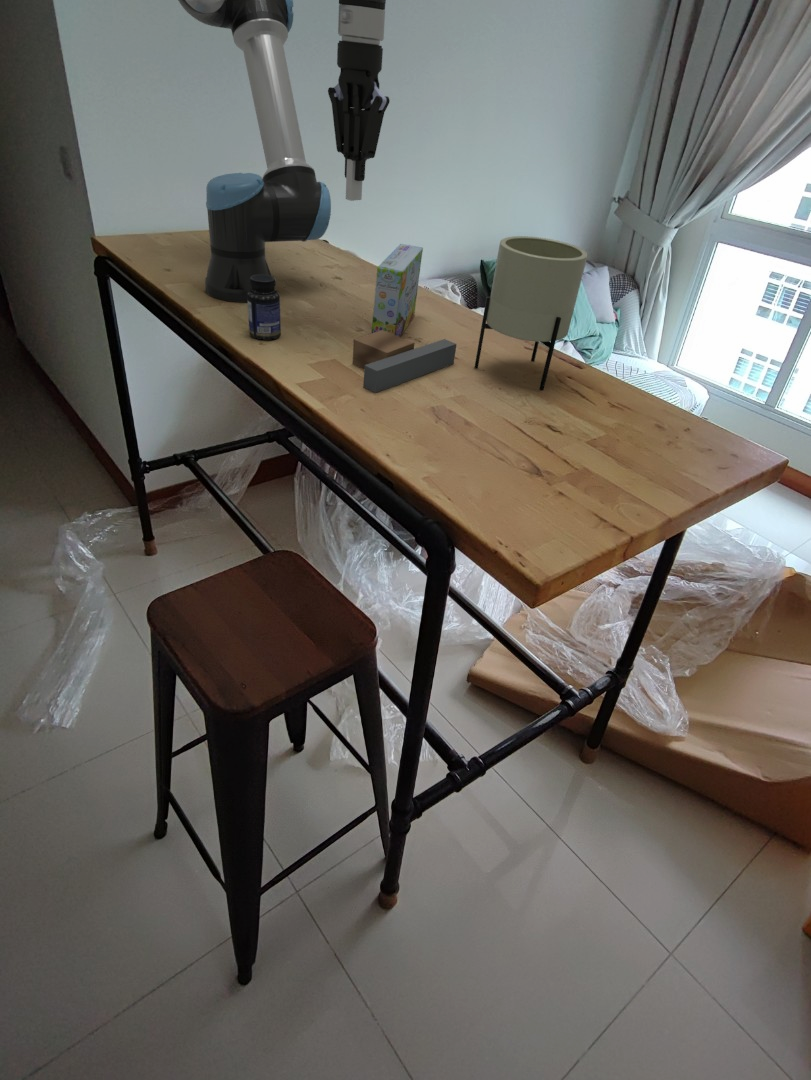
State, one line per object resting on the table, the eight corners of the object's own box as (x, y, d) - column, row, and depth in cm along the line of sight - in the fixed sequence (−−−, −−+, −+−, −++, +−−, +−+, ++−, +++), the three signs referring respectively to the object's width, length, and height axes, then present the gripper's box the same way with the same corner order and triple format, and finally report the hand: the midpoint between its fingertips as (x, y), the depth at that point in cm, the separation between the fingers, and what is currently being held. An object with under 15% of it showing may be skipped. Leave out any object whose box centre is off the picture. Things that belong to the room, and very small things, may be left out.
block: (352, 365, 121) (353, 339, 118) (380, 355, 126) (381, 329, 123) (385, 379, 117) (387, 352, 114) (411, 368, 123) (414, 342, 120)
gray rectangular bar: (363, 386, 113) (364, 365, 111) (441, 358, 127) (444, 338, 125) (375, 392, 112) (377, 371, 109) (453, 363, 126) (456, 343, 123)
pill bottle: (286, 334, 129) (286, 277, 122) (269, 343, 125) (267, 285, 118) (261, 327, 131) (258, 271, 124) (242, 336, 126) (239, 277, 120)
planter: (508, 395, 117) (537, 262, 103) (463, 361, 127) (483, 236, 113) (573, 386, 123) (609, 259, 109) (525, 354, 134) (551, 235, 120)
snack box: (396, 349, 129) (403, 270, 120) (369, 344, 130) (374, 266, 120) (416, 316, 146) (424, 245, 137) (392, 312, 146) (398, 241, 137)
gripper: (316, 35, 107) (315, 193, 121) (372, 42, 101) (364, 208, 115) (349, 39, 112) (343, 191, 126) (404, 46, 106) (392, 205, 120)
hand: (353, 199), depth 121 cm, fingers closed
